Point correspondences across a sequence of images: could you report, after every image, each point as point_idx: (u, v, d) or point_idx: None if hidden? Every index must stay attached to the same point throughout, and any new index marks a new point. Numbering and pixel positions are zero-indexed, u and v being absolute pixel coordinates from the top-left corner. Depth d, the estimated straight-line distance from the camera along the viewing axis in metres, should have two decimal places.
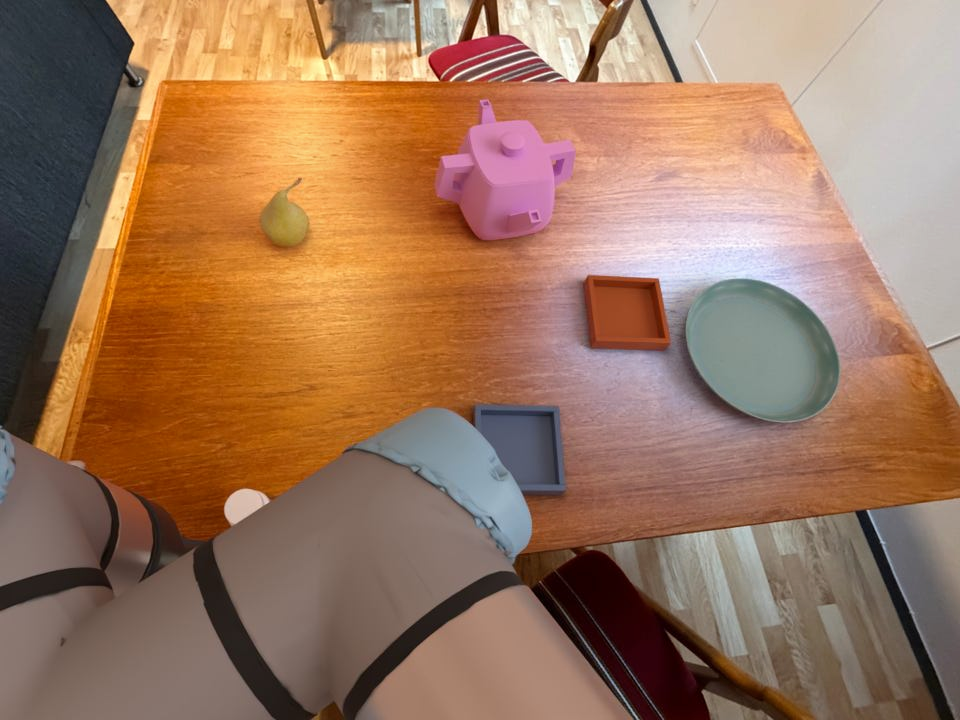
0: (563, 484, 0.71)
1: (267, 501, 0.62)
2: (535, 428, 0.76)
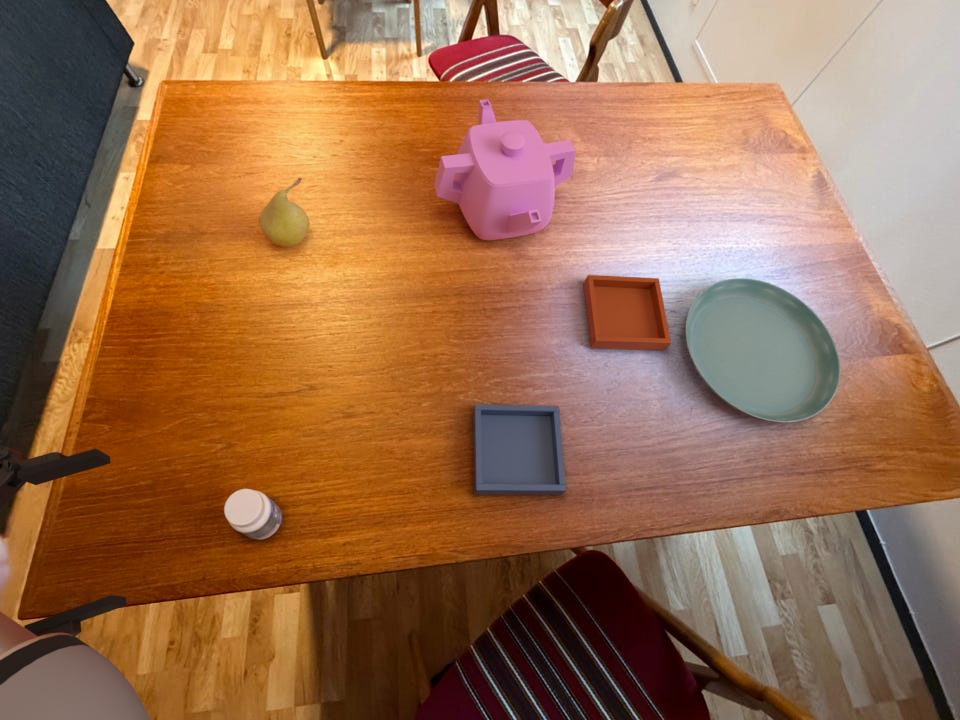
0: (563, 484, 0.71)
1: (267, 501, 0.62)
2: (535, 428, 0.76)
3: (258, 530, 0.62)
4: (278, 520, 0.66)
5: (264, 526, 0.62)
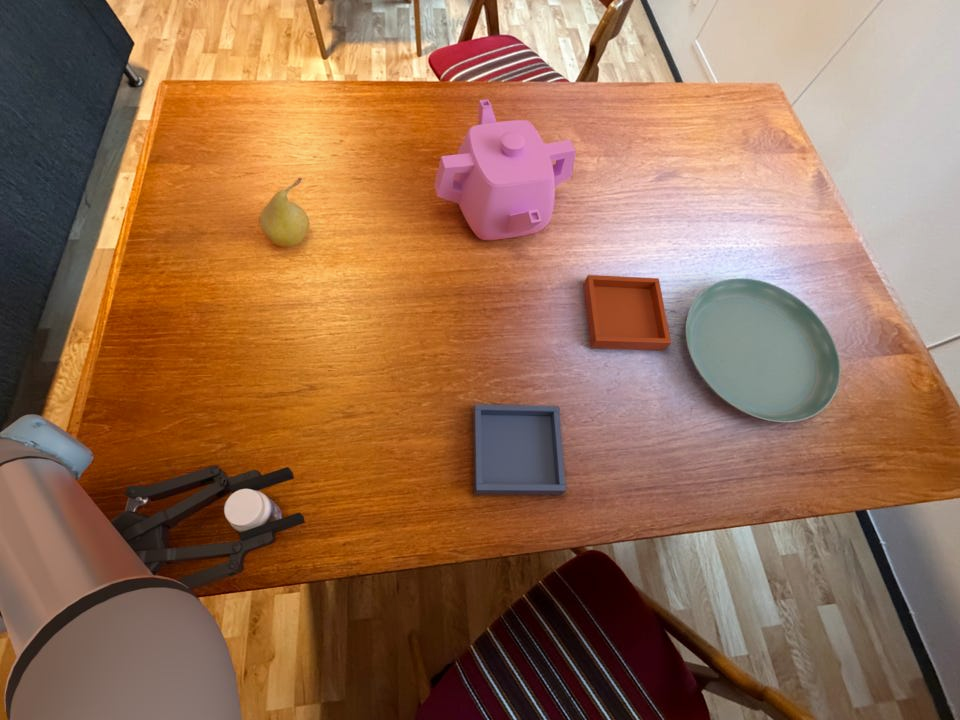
0: (563, 484, 0.71)
1: (267, 501, 0.62)
2: (535, 428, 0.76)
3: None
4: None
5: None
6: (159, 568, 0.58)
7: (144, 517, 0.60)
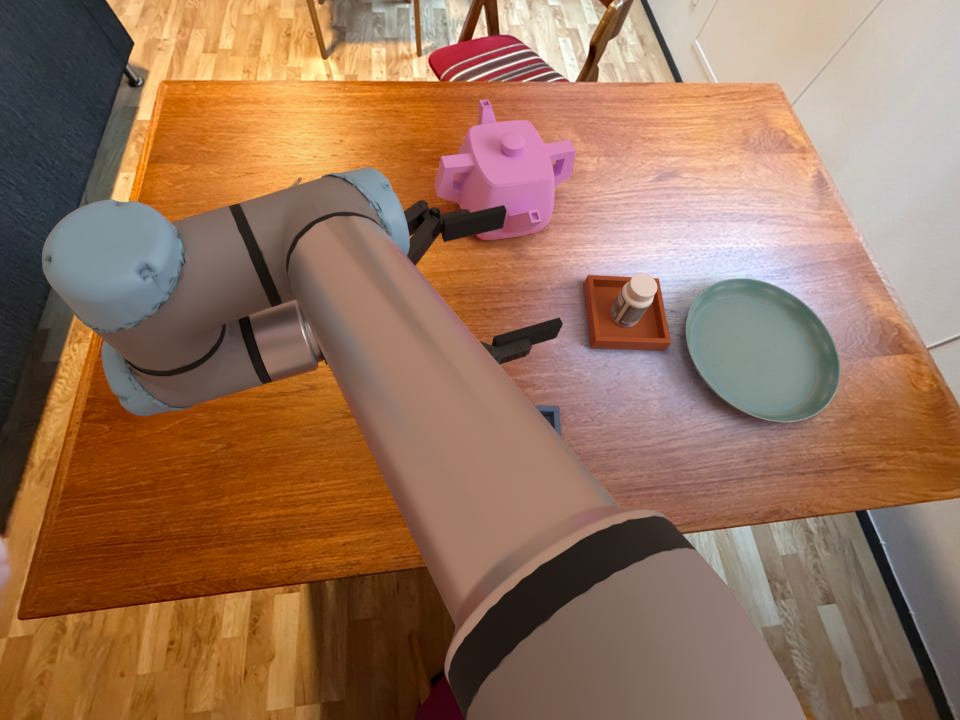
0: None
1: None
2: None
3: (645, 308, 0.80)
4: None
5: (649, 305, 0.80)
6: None
7: None
